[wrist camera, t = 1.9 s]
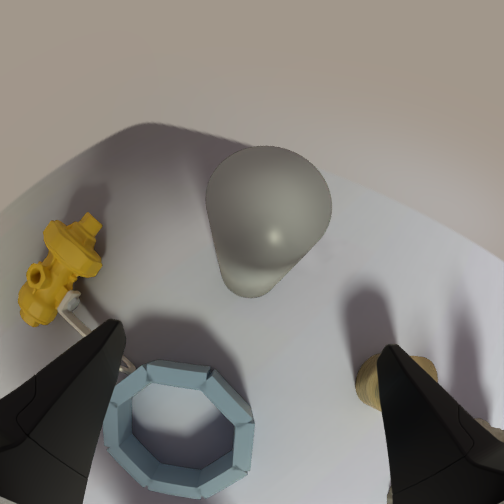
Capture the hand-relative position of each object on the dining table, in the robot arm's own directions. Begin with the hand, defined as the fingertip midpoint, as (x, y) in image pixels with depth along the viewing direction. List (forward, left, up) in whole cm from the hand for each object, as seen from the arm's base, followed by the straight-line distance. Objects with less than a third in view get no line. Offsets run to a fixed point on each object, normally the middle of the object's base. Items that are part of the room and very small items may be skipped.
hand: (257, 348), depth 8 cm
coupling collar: (-2, +8, -12) cm, 15 cm away
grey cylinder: (+4, -4, -12) cm, 13 cm away
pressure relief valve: (+9, +8, -12) cm, 17 cm away
